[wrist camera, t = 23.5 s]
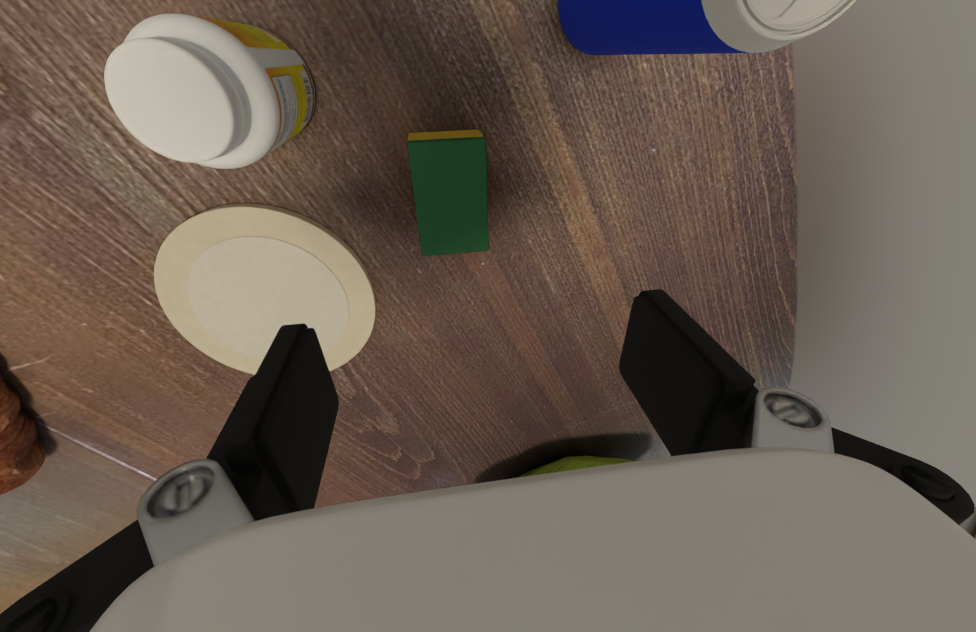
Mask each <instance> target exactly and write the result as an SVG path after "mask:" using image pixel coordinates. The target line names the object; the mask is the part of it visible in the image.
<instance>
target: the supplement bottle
mask: <svg viewBox="0 0 976 632" xmlns="http://www.w3.org/2000/svg"><path fill="white" fill-rule="evenodd" d="M104 79H105V88H106V92H107V96H108V99H109V101H110V104H111V106H112V108H113V110H114V111H115V113H116V115H117V117H118V118H119V119H120V121H121V122H122V123H123V125H124V126H125V127H126V128H127V129H128V131H129V132H130V133H131V134H132V135H133V136H134V137H135V138H137V139H138V140H139V141H140V142H141V143H143V144H144V145H146V146H147V147H148V148H150V149H152V150H153V151H155V152H157V153H159V154H161V155H163V156H165V157H168V158H170V159H174V160H177V161H182V162H190V163H197V164H200V165H203V166H206V167H212V168H219V169H233V168H240V167H244V166H247V165H249V164H252V163H254V162H256V161H258V160H259V159H261V158H262V157H264V156H265V155H267V154H268V153H270V152H271V151H273V150H274V149H276V148H278V147H279V146H281V145H282V144H283V143H285V142H286V141H288V140H289V139H291V138H292V137H294V136H296V135H297V134H299V133H300V132H301V131H302V130H303V129H304V128H305V127H306V126H307V124H308V123H309V121H310V119H311V117H312V115H313V111H314V107H315V90H314V85H313V81H312V78H311V76H310V73H309V71H308V69H307V67H306V65H305V63H304V62H303V60H302V59H301V57H300V56H299V55H298V53H297V52H296V51H295V50H294V49H293V48H292V47H291V46H290V45H289V44H288V43H287V42H286V41H284V40H283V39H282V38H280V37H279V36H278V35H276V34H274V33H272V32H270V31H268V30H266V29H264V28H261V27H258V26H253V25H247V24H242V23H234V22H228V21H222V20H215V19H209V18H203V17H197V16H192V15H186V14H161V15H156V16H153V17H150V18H147V19H145V20H143V21H142V22H140V23H139V24H137V25H136V26H135V27H134V28H133V29H132V30H131V31H130V32H129V34H128V35H127V37H126V38H125V40H124V43H122V44H121V45H119V46H118V47H117V48H116V49H115V50H114V51H113V52H112V53H111V55H110V56H109V58H108V60H107V63H106V67H105V73H104Z"/></svg>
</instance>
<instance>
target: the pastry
mask: <svg viewBox="0 0 976 632" xmlns="http://www.w3.org/2000/svg"><path fill="white" fill-rule="evenodd" d="M20 405H21V404H20V400H19V396H18V394H17V393H16V392H15V391H14V390H12V389H11V388H10V387H9V386H8V384H7V382H6V381H5V379H4V376H3V374H2V373H1V371H0V495H1V494H3V493H5V492H8V491H10V490H12V489H14V488H16V487H18V486H20V485H22V484H24V483H25V482H27V481H28V480H29V479H30V478H31V477H32V476H33V475H34V474H35V473H36V472H37V471H38V470H39V468H40V467H41V466H42V464H43V462H44V460H45V452H46V451H45V447H44V445H43V442H42V439H41V438H40V436H39V433H38V428H37V425H36V423H35V421H34V419H33V418H32V417H31V416H29V415H27V414H26V413H25V412H24V411H23V410H22V409H20Z"/></svg>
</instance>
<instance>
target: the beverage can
mask: <svg viewBox="0 0 976 632" xmlns="http://www.w3.org/2000/svg"><path fill="white" fill-rule="evenodd" d="M855 1H856V0H559V2H558V8H559V17H560V22H561V25H562V29H563V31H564V33H565V35H566V37H567V38H568V40H569V41H570V43H571V44H572V45H573V46H574V47H575V48H577V49H578V50H580V51H582V52H584V53H586V54H591V55H626V54H703V53H762V52H767V51H772V50H775V49H778V48H780V47H783V46H785V45H788V44H790V43H792V42H794V41H796V40H798V39H800V38H803V37H804V36H807V35H809V34H812V33H814V32H816V31H818V30H820V29H821V28H823V27H825V26H827V25H828V24H829V23H831V22H832V21H834V20H835V19H836V18H838V17H839V16H840V15H841V14H843V13H844V12H845V11H846V10H847V9H848V8H849V7H850V6H851V5H852V4H853V3H854V2H855Z"/></svg>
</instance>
